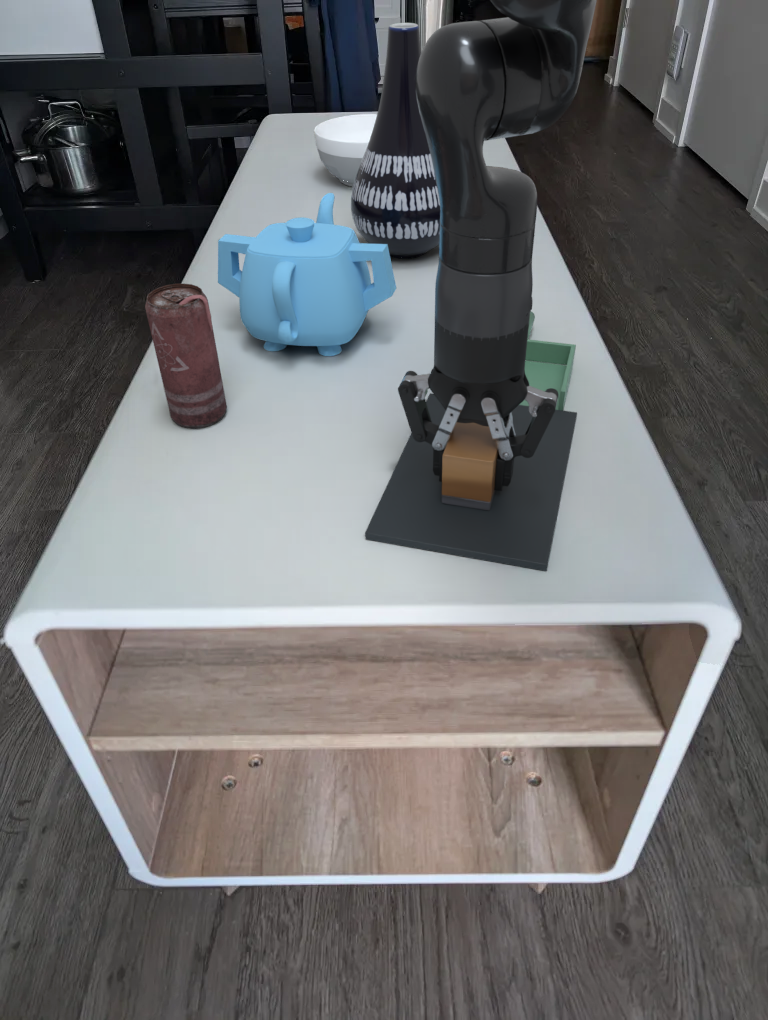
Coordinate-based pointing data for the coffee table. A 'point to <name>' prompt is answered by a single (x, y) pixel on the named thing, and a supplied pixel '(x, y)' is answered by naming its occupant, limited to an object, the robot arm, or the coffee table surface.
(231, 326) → the coffee table surface
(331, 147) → the bowl
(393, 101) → the vase
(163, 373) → the can
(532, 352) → the dustpan
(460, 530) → the slate
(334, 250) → the teapot
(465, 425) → the eraser
